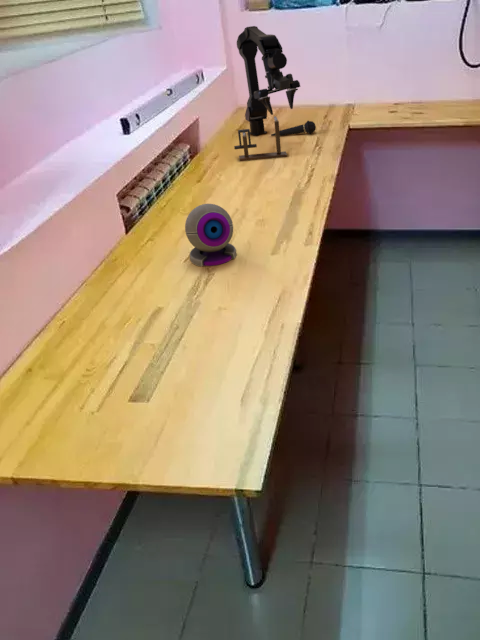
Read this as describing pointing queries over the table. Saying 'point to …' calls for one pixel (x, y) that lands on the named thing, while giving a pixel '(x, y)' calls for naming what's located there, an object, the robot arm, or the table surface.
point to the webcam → (210, 235)
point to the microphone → (299, 129)
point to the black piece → (248, 139)
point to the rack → (264, 155)
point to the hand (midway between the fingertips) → (282, 111)
